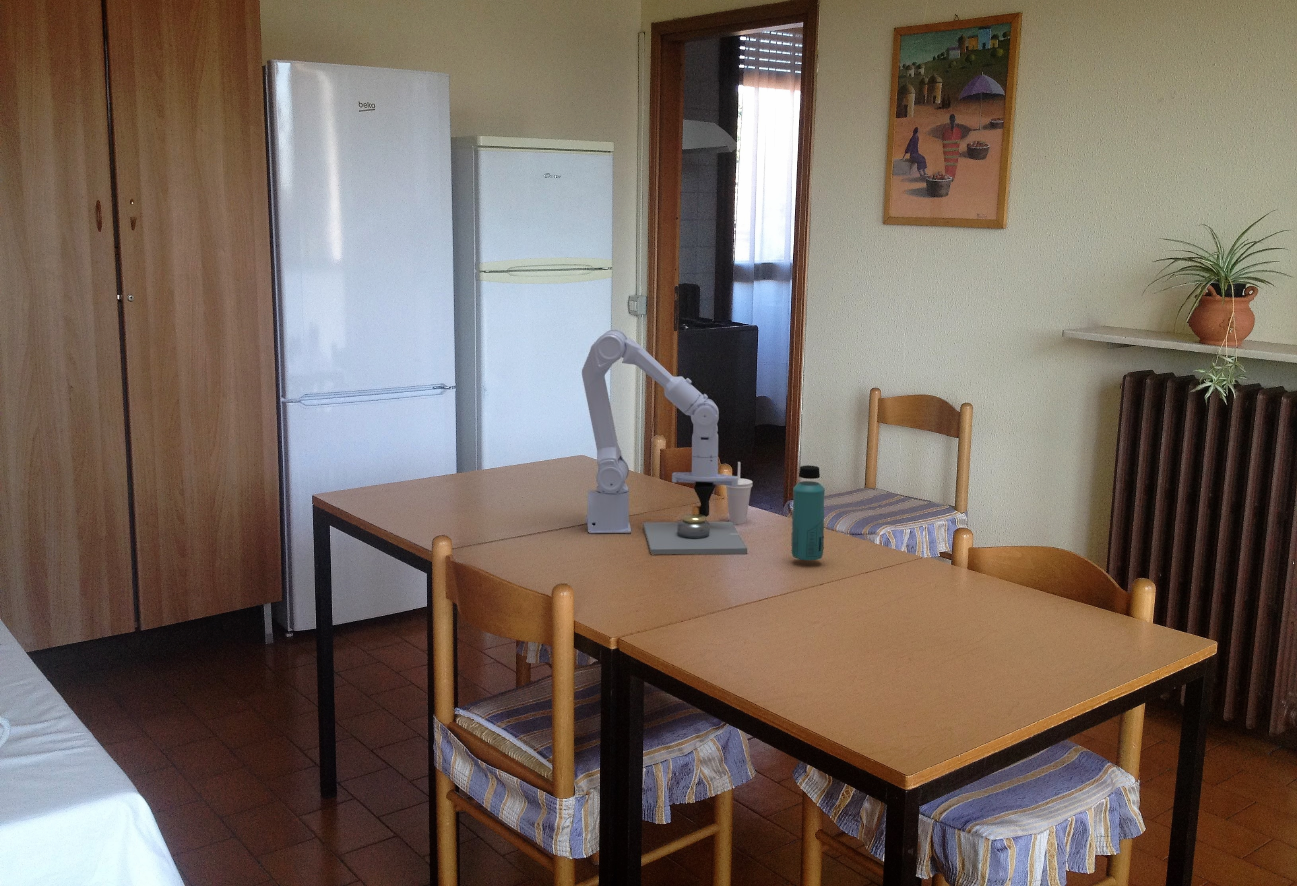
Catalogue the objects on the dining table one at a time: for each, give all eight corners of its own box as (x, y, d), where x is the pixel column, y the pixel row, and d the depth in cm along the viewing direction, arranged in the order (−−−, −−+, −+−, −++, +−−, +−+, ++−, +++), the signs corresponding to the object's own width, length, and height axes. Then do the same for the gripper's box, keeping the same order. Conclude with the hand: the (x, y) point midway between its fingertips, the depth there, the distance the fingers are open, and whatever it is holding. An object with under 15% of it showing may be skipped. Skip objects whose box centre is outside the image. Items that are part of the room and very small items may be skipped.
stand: (651, 555, 239) (651, 548, 239) (643, 527, 261) (643, 522, 260) (747, 553, 241) (747, 547, 240) (731, 526, 262) (731, 521, 262)
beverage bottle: (822, 568, 231) (826, 470, 227) (788, 566, 232) (792, 468, 228) (824, 559, 237) (827, 463, 233) (791, 557, 238) (794, 462, 235)
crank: (707, 538, 246) (708, 518, 246) (675, 536, 247) (675, 516, 247) (713, 524, 258) (713, 505, 257) (681, 522, 259) (682, 503, 258)
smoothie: (751, 519, 269) (753, 460, 266) (751, 526, 263) (753, 465, 260) (724, 518, 270) (725, 459, 267) (723, 525, 263) (724, 465, 261)
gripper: (741, 454, 256) (740, 513, 258) (678, 450, 260) (678, 509, 263) (733, 460, 249) (732, 521, 251) (669, 456, 254) (669, 516, 256)
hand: (704, 515), depth 257 cm, fingers closed, pressing on crank
